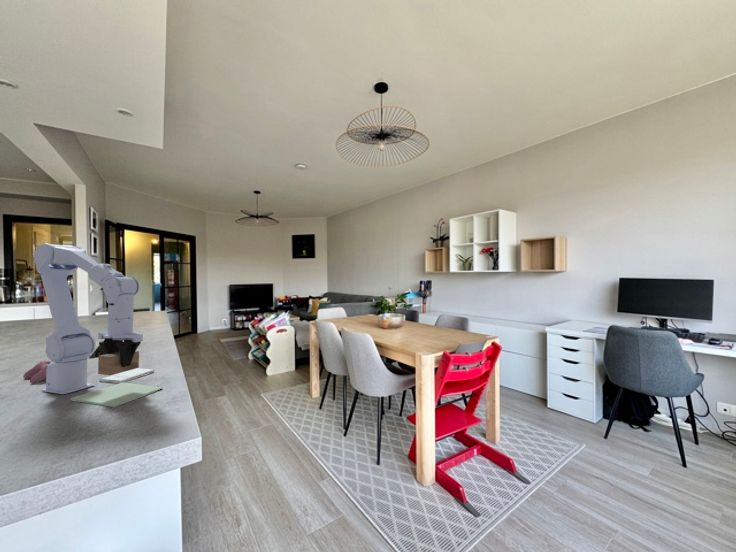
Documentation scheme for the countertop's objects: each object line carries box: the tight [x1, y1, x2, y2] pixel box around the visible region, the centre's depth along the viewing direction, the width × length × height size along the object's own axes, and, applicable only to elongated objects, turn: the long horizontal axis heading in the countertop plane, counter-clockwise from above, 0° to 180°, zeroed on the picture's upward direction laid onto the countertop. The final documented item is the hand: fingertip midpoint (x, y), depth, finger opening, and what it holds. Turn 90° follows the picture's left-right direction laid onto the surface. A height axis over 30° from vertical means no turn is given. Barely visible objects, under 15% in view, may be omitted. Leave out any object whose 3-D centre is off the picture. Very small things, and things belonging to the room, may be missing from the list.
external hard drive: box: [98, 367, 155, 384], centre depth 106 cm, size 2×8×12 cm
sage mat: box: [70, 382, 163, 408], centre depth 89 cm, size 16×14×1 cm
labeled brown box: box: [97, 350, 140, 376], centre depth 89 cm, size 8×4×5 cm, turn 165°
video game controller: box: [22, 360, 51, 384], centre depth 102 cm, size 10×5×7 cm, turn 58°
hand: (119, 365), depth 89 cm, fingers closed on labeled brown box, 4 cm apart
